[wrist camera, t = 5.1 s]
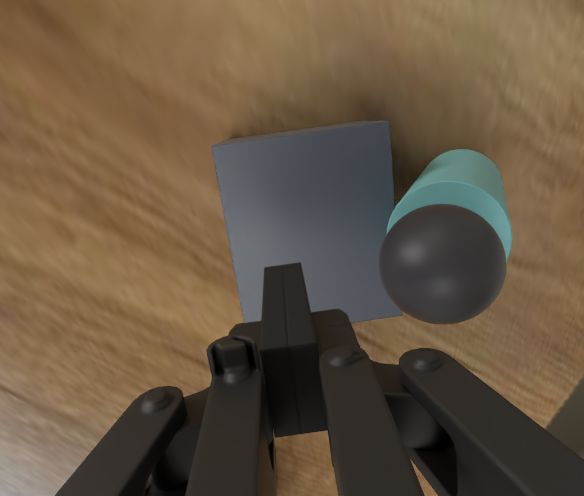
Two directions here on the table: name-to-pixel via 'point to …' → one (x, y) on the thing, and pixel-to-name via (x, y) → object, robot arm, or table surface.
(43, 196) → the table surface
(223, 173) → the gray block
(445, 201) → the teal cylinder with ball
